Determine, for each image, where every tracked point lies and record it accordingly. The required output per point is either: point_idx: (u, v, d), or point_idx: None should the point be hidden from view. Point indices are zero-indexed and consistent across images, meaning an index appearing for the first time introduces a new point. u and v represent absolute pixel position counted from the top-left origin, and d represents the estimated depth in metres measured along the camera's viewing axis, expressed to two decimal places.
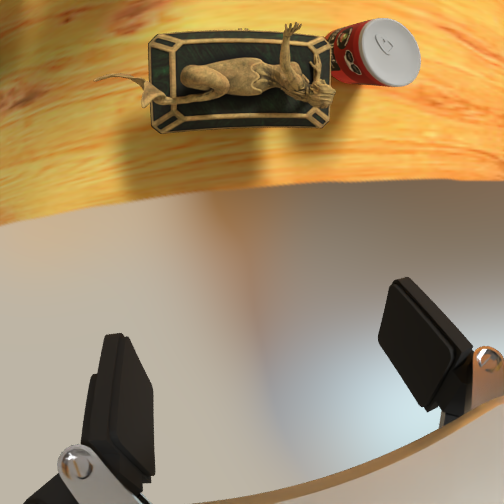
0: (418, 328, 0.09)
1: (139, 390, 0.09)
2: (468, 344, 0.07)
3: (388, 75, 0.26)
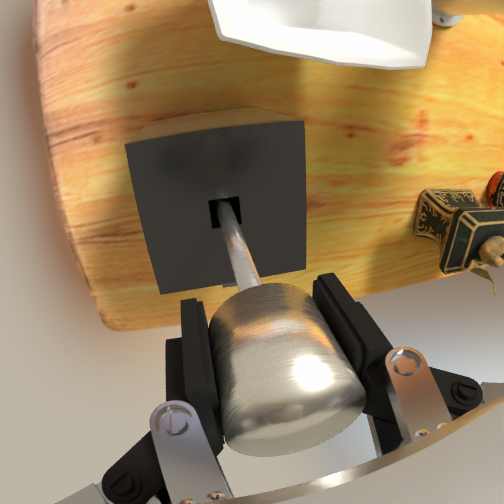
0: (334, 324, 0.09)
1: None
2: (380, 343, 0.08)
3: None
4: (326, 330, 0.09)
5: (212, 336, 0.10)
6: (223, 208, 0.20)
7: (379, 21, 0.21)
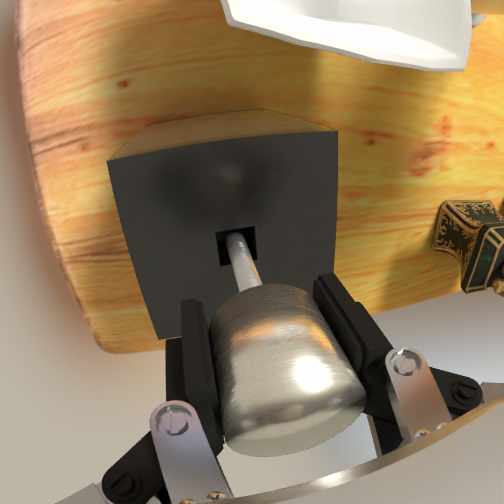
0: (334, 324, 0.09)
1: None
2: (380, 343, 0.08)
3: None
4: (326, 330, 0.09)
5: (212, 336, 0.10)
6: None
7: (411, 15, 0.17)
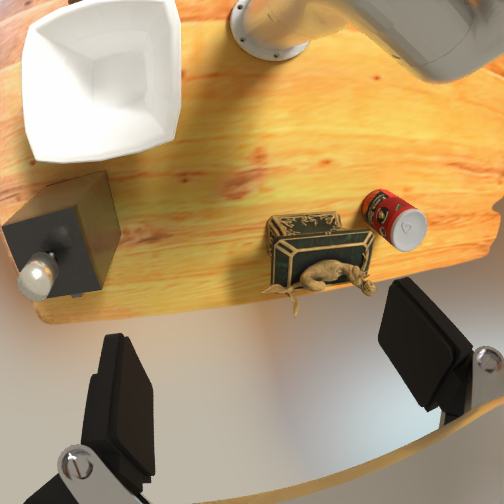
0: (418, 328, 0.09)
1: (139, 390, 0.09)
2: (468, 344, 0.07)
3: (404, 245, 0.49)
4: (43, 263, 0.28)
5: None
6: None
7: (156, 101, 0.32)
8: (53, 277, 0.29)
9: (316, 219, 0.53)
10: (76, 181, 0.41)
